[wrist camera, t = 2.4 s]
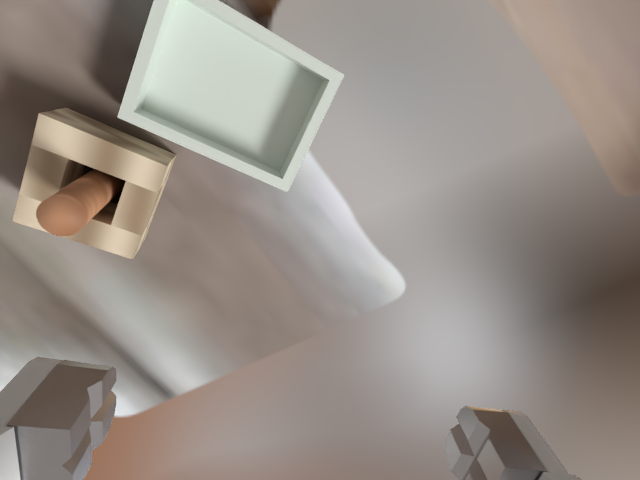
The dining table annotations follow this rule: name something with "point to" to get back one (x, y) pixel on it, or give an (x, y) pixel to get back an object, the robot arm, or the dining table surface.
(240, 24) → the tray
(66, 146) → the square wooden frame
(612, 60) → the dining table surface
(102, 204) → the dowel
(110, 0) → the dining table surface
